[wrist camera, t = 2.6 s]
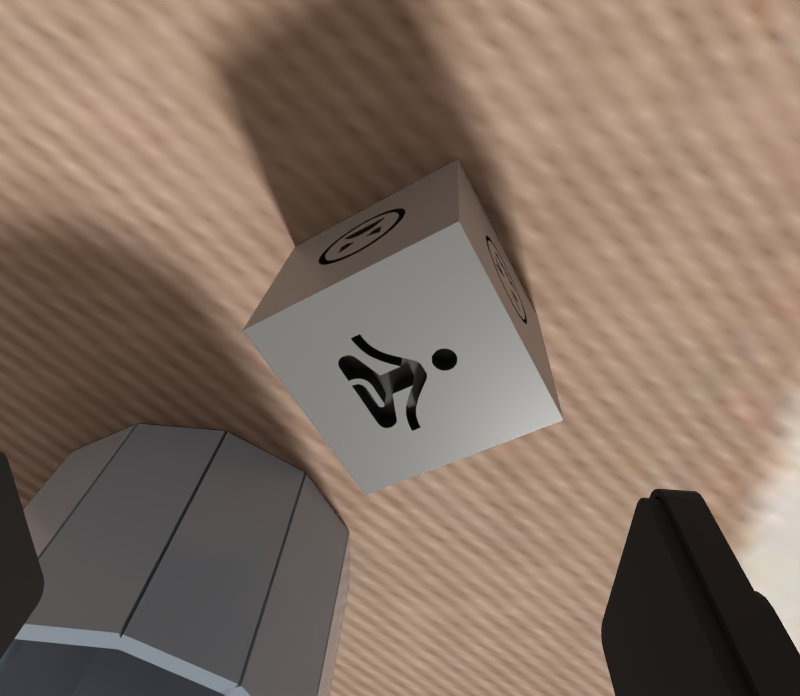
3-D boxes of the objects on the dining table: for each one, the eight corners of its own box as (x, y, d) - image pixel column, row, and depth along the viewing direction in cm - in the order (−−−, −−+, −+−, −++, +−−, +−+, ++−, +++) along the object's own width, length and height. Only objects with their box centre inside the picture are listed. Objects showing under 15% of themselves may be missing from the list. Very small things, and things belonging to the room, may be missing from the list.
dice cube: (295, 245, 17) (243, 330, 13) (458, 158, 16) (459, 221, 11) (385, 381, 19) (365, 494, 15) (537, 315, 18) (563, 420, 13)
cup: (17, 413, 21) (-182, 603, 14) (350, 441, 20) (301, 651, 14) (85, 629, 26) (-36, 836, 20) (347, 655, 26) (312, 877, 19)
